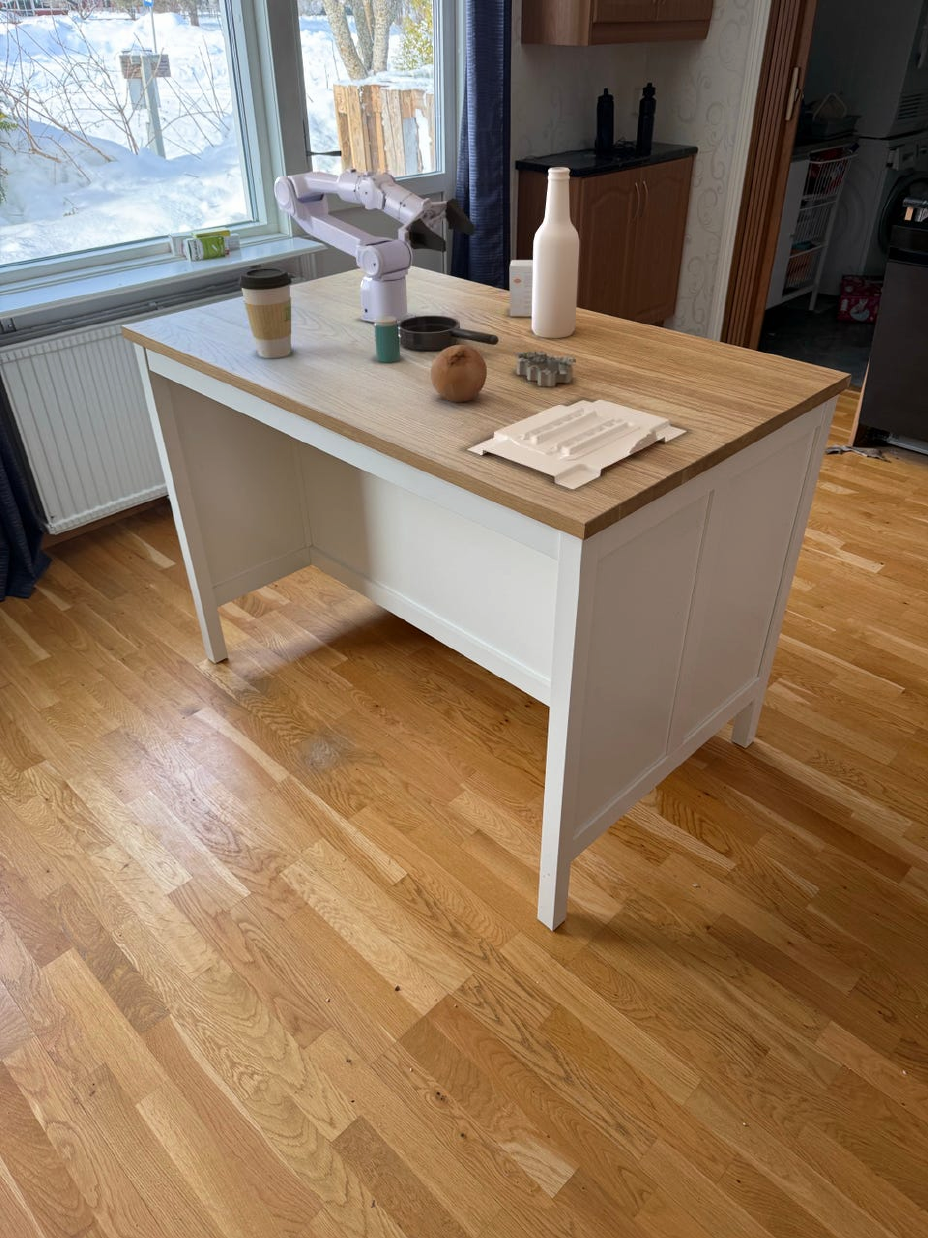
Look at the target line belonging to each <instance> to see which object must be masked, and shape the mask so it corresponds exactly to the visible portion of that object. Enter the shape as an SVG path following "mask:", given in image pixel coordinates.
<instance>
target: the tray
mask: <svg viewBox="0 0 928 1238" xmlns="http://www.w3.org/2000/svg"><path fill="white" fill-rule="evenodd" d="M684 433H687V430H685V429H681V428H678V427H674V426H671V425H670V419H668V418H665V417H661V416H658V415H655V414H651V413H648V412H644V411H641V410H638V409H634V408H631V407H627V406H624V405H620V404H617V403H614V402H611V401H608V400H604V399H598V400H596V401H595V400H594V401H593V402H592V401H588V400H584V399H583V400H580V401H578V402H575V403H573V404H571V405H568V406H566V405H562V404H558V405H555V406H553V407H549V408H548V409H545V410H543V411H541V412H539V413H536V414H533V415H530V416H528V417H526V418H524V419H521V420H518V421H517V422H514V423H512V424H509V425H507V426H505V427H502V428H500V429H498V430H494V432H493V437H492V438H490V439H488V440H485V441H483V442H481V443H478V444H476V445H474V446H471V447H469V448H467V449H466V450H467V451H470V452H472V453H475V454H477V455H480V456H483V455H485V454H488V453H491V454H493V455H496V456H499V457H503V459H504V458H505V459H506V460H509V461H512V462H515V463H518V464H520V465H523V466H526V467H529V468H531V469H534V470H536V471H539V472H542V473H544V474H547V475H550V476H552V477H553V479H554V483H555V484H557V485H559V486H562V487H565V488H568V489H570V490H575V489H578V488H579V487H581V486H583V485H586V484H587V483H589V482H591V481H593V480H595V479H597V478H599V477H600V476H601V473H602V470H603V469H604V468H607V467H608V466H610V465H612V464H614V463H616V462H618V461H620V460H623V459H624V458H626V457H628V456H631V455H632V454H634V453H636V452H638V451H640V450H643V449H644V448H646V447H648V446H650V445H652V444H654V443H655V442H658V441H660V442H664V443H667V442H670V441H672V440H673V439H675V438H677V437H679V436H681V435H683V434H684Z"/></svg>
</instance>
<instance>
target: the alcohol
mask: <svg viewBox="0 0 928 1238" xmlns="http://www.w3.org/2000/svg"><path fill="white" fill-rule="evenodd" d="M547 172H548V176H547V180H548V183H547V194H546V204H545V214H544V218H543V222H542V223H541V225H540V226H539V228H538V229H537V231H536V232H535V234H534V239H533V247H532V248H533V249H532V250H533V251H532V260H533V291H532V317H531V330H532V332H533V334H534V335H535V336H537V337H541V338H544V339H545V338H546V339H562V338H567V337H569V336H571V335H573V333H574V331H575V330H576V317H577V302H578V301H577V299H578V298H577V297H578V281H579V279H578V277H579V259H580V258H579V257H580V238H579V233H578V231H577V228H576V227H575V226H574V224H573V223H572V220H571V213H570V178H571V176H570V172H571V170H570V169H569V168H568V167H561V166H559V167H549V169H548V171H547Z"/></svg>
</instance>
